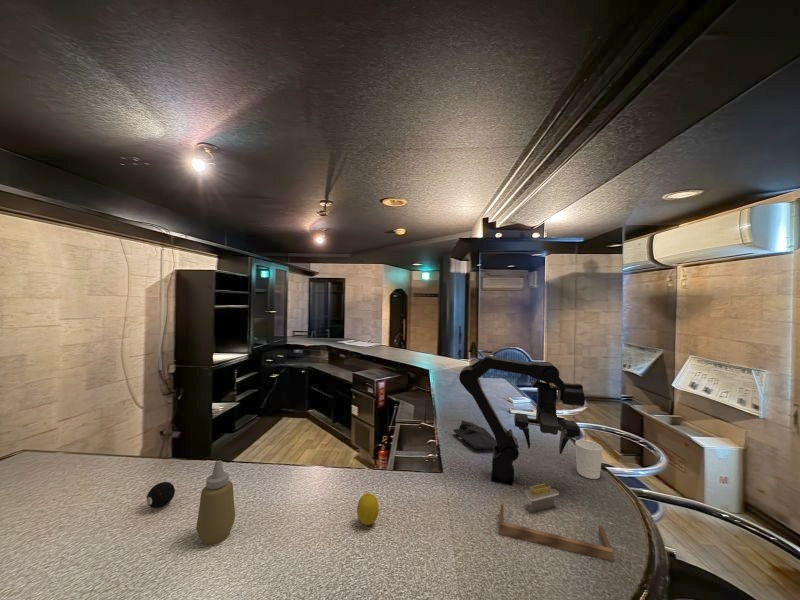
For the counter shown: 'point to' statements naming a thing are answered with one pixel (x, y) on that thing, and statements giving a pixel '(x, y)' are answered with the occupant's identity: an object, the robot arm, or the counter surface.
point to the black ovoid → (160, 495)
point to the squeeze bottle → (216, 507)
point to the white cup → (588, 458)
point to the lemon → (367, 509)
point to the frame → (557, 540)
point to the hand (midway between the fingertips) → (544, 450)
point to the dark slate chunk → (475, 436)
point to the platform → (541, 497)
